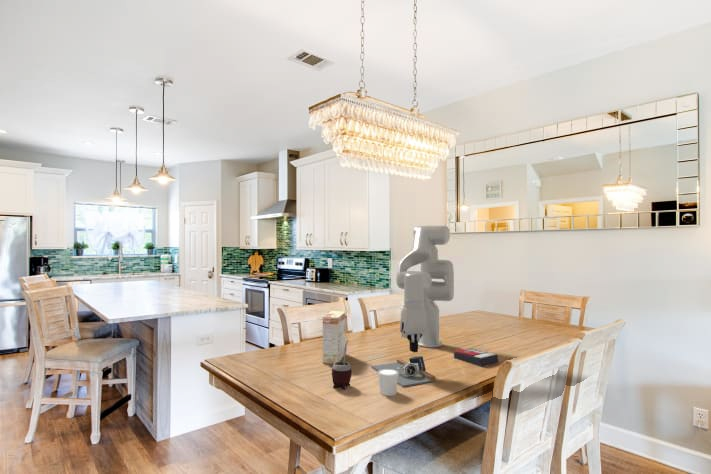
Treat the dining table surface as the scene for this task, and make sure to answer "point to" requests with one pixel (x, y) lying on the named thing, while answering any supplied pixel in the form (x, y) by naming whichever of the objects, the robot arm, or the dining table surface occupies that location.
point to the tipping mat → (407, 381)
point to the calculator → (476, 357)
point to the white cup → (388, 381)
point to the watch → (412, 367)
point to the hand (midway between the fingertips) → (413, 351)
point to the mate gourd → (341, 373)
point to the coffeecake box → (333, 336)
